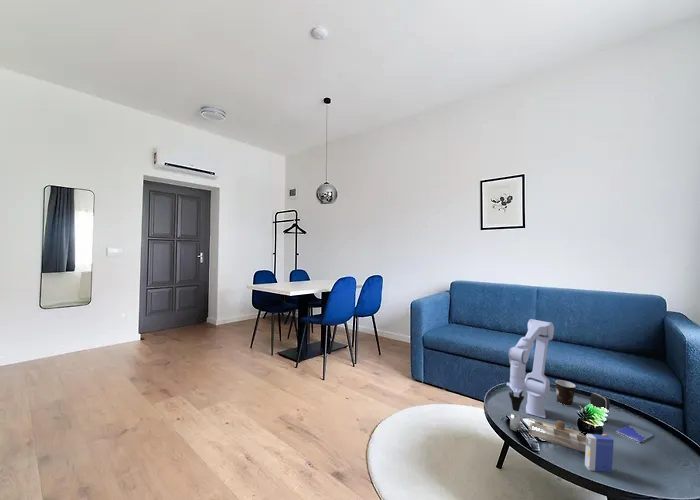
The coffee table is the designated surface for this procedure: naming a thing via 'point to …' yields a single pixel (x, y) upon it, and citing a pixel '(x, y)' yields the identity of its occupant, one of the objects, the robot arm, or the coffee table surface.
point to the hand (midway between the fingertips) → (516, 406)
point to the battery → (599, 401)
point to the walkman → (599, 452)
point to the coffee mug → (565, 392)
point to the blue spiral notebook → (630, 433)
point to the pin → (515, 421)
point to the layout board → (559, 434)
